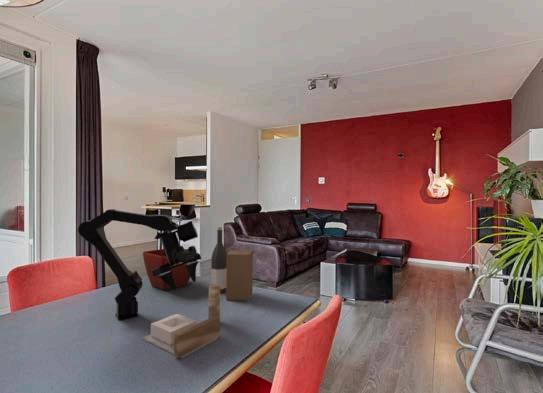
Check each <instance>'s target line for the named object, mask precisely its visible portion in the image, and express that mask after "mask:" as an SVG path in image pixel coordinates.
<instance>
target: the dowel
mask: <svg viewBox="0 0 543 393" xmlns="http://www.w3.org/2000/svg"><path fill="white" fill-rule="evenodd" d="M207 315H208V319H209V318H211V317H214V316H219V317H220V318H221V292H220V285H211V284H210V285H208V314H207Z"/></svg>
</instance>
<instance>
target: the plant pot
mask: <svg viewBox="0 0 543 393" xmlns="http://www.w3.org/2000/svg"><path fill="white" fill-rule="evenodd" d="M184 249H185V250H186V248H184ZM164 252H165V250H164V248H161V249H160V248H159V249H154V250H153V249H152V250H145V251H142V257H143V262H144V263H143V264H144V266H145V270H146V274H147V278H148V280H149V283H150V285H151V287H154V288H157V289H160V290H163V291H169V290H173V289H172V288H171V287H170V286H169V285H168V284H167V283H166V282H164V281H163V280H162V279H161V278H157V277H158V276H159V275H158V276H155V277H154V276H153V273H152V272H153V269H154V268H157V267H159V266H162V265H165V264H167V263H168V259H167V256H166V255H164ZM179 263H181V262H179ZM175 264H176V263H175ZM175 264H174V265H175ZM186 266H187V264H183V265H181V266H178V267H175V268H173V269H170V272H171V271H173V273H172V277H173V280H174V283H175V286H176V289H178V288H181V287H184V286H185V287H186V286H187V285H188V284H189V282H190V279H191V277H190V275H189V273H188V271H187V269H186Z"/></svg>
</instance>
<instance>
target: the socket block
mask: <svg viewBox="0 0 543 393" xmlns="http://www.w3.org/2000/svg"><path fill="white" fill-rule="evenodd" d="M196 324H198V321H197V320H195V319H193V318H190V317H187V316H184V315H181V314H179V313H175V314H172V315H170V316H168V317H165V318H162V319H160V320H157V321H155V322H151V323H150V334H151V336H152V337H155V338H157V339H159V340H161V341H163V342H165V343H167V344H170V345H172V344H174V334H176V333H178V332H180V331H183V330H185V329H187V328H189V327H191V326H194V325H196Z"/></svg>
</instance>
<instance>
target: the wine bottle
mask: <svg viewBox="0 0 543 393" xmlns="http://www.w3.org/2000/svg"><path fill="white" fill-rule="evenodd" d="M216 233H217V235H216V240H217V241H216V242H217V243H216V244H215V247H214V249H213V251H212V254H211V261H210V262H211V264H210V265H211V268H210V270H211V272H210V273H211V274H210V275H211V277H210V278H211V279H210V281H211V282H210V285H220V293H224V292H225V293H226V266H227V254H228V252H227V251H226V248H225V245H224V244H223V226H217V230H216Z"/></svg>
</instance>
